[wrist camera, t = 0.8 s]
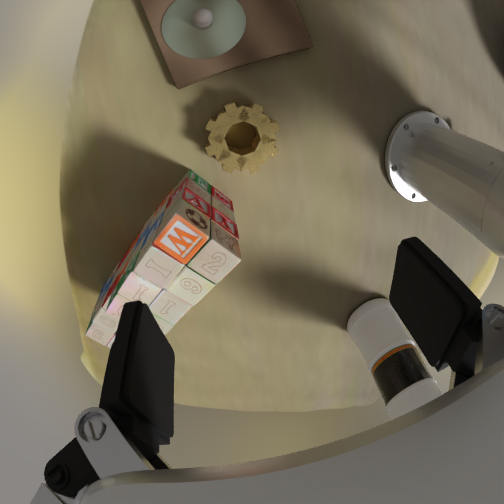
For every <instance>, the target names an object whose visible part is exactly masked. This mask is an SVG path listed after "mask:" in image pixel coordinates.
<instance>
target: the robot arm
mask: <svg viewBox="0 0 504 504" xmlns="http://www.w3.org/2000/svg"><path fill="white" fill-rule="evenodd" d="M385 167H386V172H387V176H388V179H389V181H390V183H391V185H392V187H393V188H394V189H395V191H396V192H398V193H399V194H400V195H401V196H403V197H404V198H406V199H407V200H410V201H414V202H421V201H426V200H428V201H430V202H431V203H432V204H434V205H435V206H437V207H438V208H439V209H441V210H442V211H443V212H445V213H446V214H447V215H449V216H450V217H451V218H453V219H454V220H455V221H456V222H458V223H459V224H460V225H462V226H463V227H464V228H465V229H467V230H468V231H469V232H470V233H471V234H473V235H474V236H475V237H476V238H477V239H479V240H480V241H481V242H482V243H483V244H484V245H486V246H487V247H488V248H489V249H490V250H491V251H492V252H494V253H495V254H496V255H497V256H499V257H501V258H503V259H504V152H503V151H500V150H498V149H496V148H494V147H492V146H489V145H487V144H485V143H482V142H480V141H477V140H475V139H472V138H470V137H467V136H465V135H462V134H459V133H457V132H454V131H451V129H450V127H449V125H448V124H447V123H446V122H445V120H443V119H442V118H441V117H440V116H438V115H436V114H434V113H432V112H428V111H415V112H412V113H409V114H407V115H406V116H404V117H403V118H402V119H401V120H400V121H399V122H398V123H397V124H396V125H395V127H394V128H393V130H392V132H391V134H390V136H389V139H388V142H387V146H386V151H385ZM389 300H390V304H391V306H392V307H393V308H394V310H395V311H396V313H397V314H398V316H399V317H400V319H401V320H402V322H403V323H404V325H405V326H406V328H407V329H408V331H409V332H410V334H411V335H412V337H413V338H414V340H415V341H416V343H417V344H418V346H419V348H420V349H421V351H422V352H423V354H424V356H425V357H426V359H427V360H428V362H429V364H430V365H431V366H433V367H435V368H436V370H437V371H438V372H439V371H440V370H442V369H444V368H446V367H448V366H450V367H451V369H452V371H451V378H450V385H449V391H448V392H446V393H444V394H443V395H441V396H439V397H437V398H435V399H434V400H432V401H430V402H428V403H426V404H424V405H422V406H420V407H418V408H416V409H414V410H412V411H410V412H408V413H406V414H404V415H402V416H400V417H397V418H395V419H393V420H391V421H388V422H386V423H384V424H381V425H379V426H377V427H374V428H371V429H369V430H366V431H364V432H361V433H358V434H355V435H353V436H350V437H347V438H344V439H341V440H338V441H335V442H332V443H328V444H325V445H321V446H318V447H314V448H311V449H307V450H303V451H299V452H295V453H291V454H286V455H282V456H277V457H273V458H267V459H262V460H256V461H250V462H244V463H236V464H228V465H219V466H210V467H198V468H185V469H173V468H172V467H171V466H170V465H169V464H168V463H167V462H166V461H165V460H164V459H163V457H162V456H161V455H160V454H159V445H167V444H170V437H173V434H174V424H173V423H174V419H173V418H174V409H173V407H174V365H175V355H174V351H173V349H172V347H171V345H170V344H169V342H168V340H167V339H166V337H165V335H164V334H163V332H162V330H161V328H160V327H159V325H158V323H157V321H156V320H155V318H154V316H153V314H152V312H151V310H150V309H149V307H148V305H147V304H146V303H142V302H141V301H140V300H137V301H132V302H127V303H125V304H124V305H123V309H122V312H121V316H120V320H119V324H118V328H117V331H116V335H115V340H114V342H113V343H112V346H111V349H110V354H109V358H108V363H107V367H106V372H105V377H104V382H103V387H102V393H101V398H100V404H99V408H97V407H92V408H88V409H86V410H84V411H83V412H82V413H81V414H80V415H79V416H78V418H77V420H76V423H75V435H76V437H75V438H74V439H73V440H72V441H71V442H70V443H69V444H67V445H66V446H65V447H64V448H63V449H62V450H61V451H60V452H58V453H57V454H56V455H55V456H54V457H53V458H52V459H51V460H49V462H48V463H47V464H46V467H45V471H44V476H45V480H46V484H44V483H42V484H41V486H40V487H39V489H38V491H37V493H36V494H35V496H34V498H33V500H32V502H31V504H504V307H503V306H501V305H498V304H488V305H487V306H485V307H484V309H483V310H482V309H481V308H480V307H481V305H482V303H481V302H480V300H479V299H478V298H477V297H476V296H475V295H474V294H473V292H472V291H471V290H470V289H469V288H468V287H467V286H466V285H465V284H464V283H463V282H462V281H461V280H460V278H459V277H458V276H457V275H456V274H455V273H454V272H453V271H452V270H451V269H450V268H449V267H448V266H447V265H446V264H445V263H444V262H443V261H442V260H441V259H440V258H439V257H438V256H437V255H436V254H435V253H434V252H432V251H431V250H430V249H429V248H428V247H427V246H426V245H425V244H424V243H423V242H422V241H421V240H420V239H418V238H417V237H411V238H407V239H404V240H402V241H401V244H400V245H399V246H398V250H397V256H396V263H395V269H394V275H393V280H392V285H391V291H390V295H389Z"/></svg>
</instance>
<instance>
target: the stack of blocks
mask: <svg viewBox="0 0 504 504" xmlns="http://www.w3.org/2000/svg"><path fill="white" fill-rule="evenodd" d="M233 212H234V210H233V204H232V201H231V200H229V199H228V198H227V197H226V196H224V195H223V194H222V193H221V192H219V191H218V190H217V189H215V188H214V187H213V186H211V185H210V184H208V183H207V182H206V181H205V180H203V179H202V178H201V177H200V176H198V175H197V174H196V173H195V172H193V171H192V170H191V169H190V170H189V171H188V172H187V173H186V175H185V176H184V177H183V178H182V179H181V180H180V182H179V183H178V184H177V185H176V186H175V188H174V189H172V190H171V191H170V193H169V194H168V195H167V196H166V198H165V199H164V200H163V202H162V203H161V204H160V205H159V207H158V208H157V209H156V210H155V212H154V213H153V214H152V215H151V217H150V218H149V219H148V221H147V222H146V224H145V225H144V227H143V229H142V230H141V232H140V233H139V235H138V236H137V238H136V239H135V240H134V242H133V243H132V245H131V247H130V248H129V249H128V251H127V252H126V254H125V255H124V257H123V258H122V260H120V261H119V262H118V264H117V265H116V267H115V268H114V270H113V271H112V273H111V275H110V277H109V278H108V280H107V281H106V283H105V284H104V286H103V288H102V290H101V293H100V295H99V298H98V300H97V302H96V305H95V307H94V310H93V312H92V315H91V317H92V318H91V320H90V323H89V326H88V328H87V331H86V334H85V335H86V336H88V337H90V338H92V339H94V340H95V341H97V342H99V343H101V344H102V345H104V346H108V347H109V348H111V346H112V343H113V342H114V340H115V335H116V331H117V328H118V324H119V320H120V316H121V312H122V309H123V305H124V304H125V303H127V302H132V301H137V300H140V301H141V302H142V303H146V304H147V305H148V307H149V309H150V310H151V312H152V314H153V316H154V318H155V320H156V321H157V323H158V325H159V327H160V328H161V330H162V332H163V334H164V335H165V334H166V333H167V332H168V331H169V330H170V329H171V328H172V327H173V326H174V324H175V323H176V322H178V321H179V320H180V319H181V318H182V316H183V315H184V314H185V313H186V312H187V311H188V310H189V309H190V308H191V307H192V306H194V305H196V304H197V303H198V302H199V301H200V300H201V299H202V298H203V297H204V296H205V295H206V294H207V293H208V292H209V291H210V290H211V289H212V288H213V287H214V286H215V284H217V283H219V282H220V281H221V280H222V279H223V278H224V277H225V276H226V275H227V274H228V273H229V272H230V271H231V270H232V269H233V268H235V267H236V266H237V265H238V264H239V263H240V261H241V254H240V249H239V244H238V240H239V235H238V230H237V225H236V223H235V218H234V213H233Z"/></svg>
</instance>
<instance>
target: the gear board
mask: <svg viewBox="0 0 504 504" xmlns="http://www.w3.org/2000/svg"><path fill="white" fill-rule="evenodd" d="M140 2H141V4H142V6H143V9H144V11H145V13H146V16H147V18H148V21H149V23H150V25H151V28H152V30H153V33H154V35H155V37H156V40H157V42H158V44H159V47H160V49H161V51H162V54H163V56H164V59H165V61H166V63H167V66H168V68H169V70H170V73H171V75H172V77H173V80H174V82H175V85H176V87H177V89H181V88H183V87H186V86H188V85H191V84H193V83H195V82H198V81H200V80H203V79H206V78H208V77H211V76H214V75H216V74H219V73H222V72H225V71H228V70H231V69H233V68H237V67H240V66H243V65H246V64H249V63H253V62H256V61H259V60H263V59H267V58H270V57H274V56H278V55H282V54H286V53H291V52H295V51H300V50H304V49H309V48H311V47H313V45H312V42H311V40H310V37H309V34H308V32H307V29H306V27H305V24H304V22H303V19H302V17H301V14H300V12H299V9H298V7H297V5H296V3H295V0H140Z"/></svg>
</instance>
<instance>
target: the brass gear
mask: <svg viewBox="0 0 504 504" xmlns="http://www.w3.org/2000/svg"><path fill="white" fill-rule="evenodd" d="M224 107H225V111H222V112H219V113H218V115H217V117H216V119H214V118H212V117H210V119H209V121H208V123H207V125H206V130H209V131H210V133H209V136H208V139H209V141H208V142H206V146H205V149H206V151H207V153H208V156H209V157H210V156H213V155H215V156H216V159H217V161H218V162H220V163H222V170H224V171H227V172H229V173H232V172H233V170H234V168H235V169H238V170H240V171H242V170H245V169H249V171H250V174H251V173H254V172H256V171H259V170H260V169H259V166H258V165H259V164H262V163H264V162H266V160H267V158H268V156H270V157H273V158H274V157H275V155H276V153H277V151H278V150H279V149H278V148H277V147H276V146H275V145H274V144H275V142H276V137H275V134H274V133H276V132H279V131H280V129H279V126H278V123H277V121H275V120H273V119H269V116H266V115H264V114H262V111H263V109H264V107H262V106H259V105H257V104H255V103H252V102H251V103H250V105H249V107H247V106H244V105H242V104H241V105H238V106H236V105H235V102H230V103H228V104H225V105H224ZM242 121H245V122H247V123H249V124H251V125H253V126H254V129H255V131H256V134H257V135H256V137H255V139H254V141H253V143H252V145H251V146H249V147H246V148H243V149H240V150H239V149H236V148H234V147H231V146H229V145H228V144H227V141H226V139H225V136H226V134H227V132H228V130H229V127H230V126H231V125H234V124H237V123H240V122H242Z"/></svg>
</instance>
